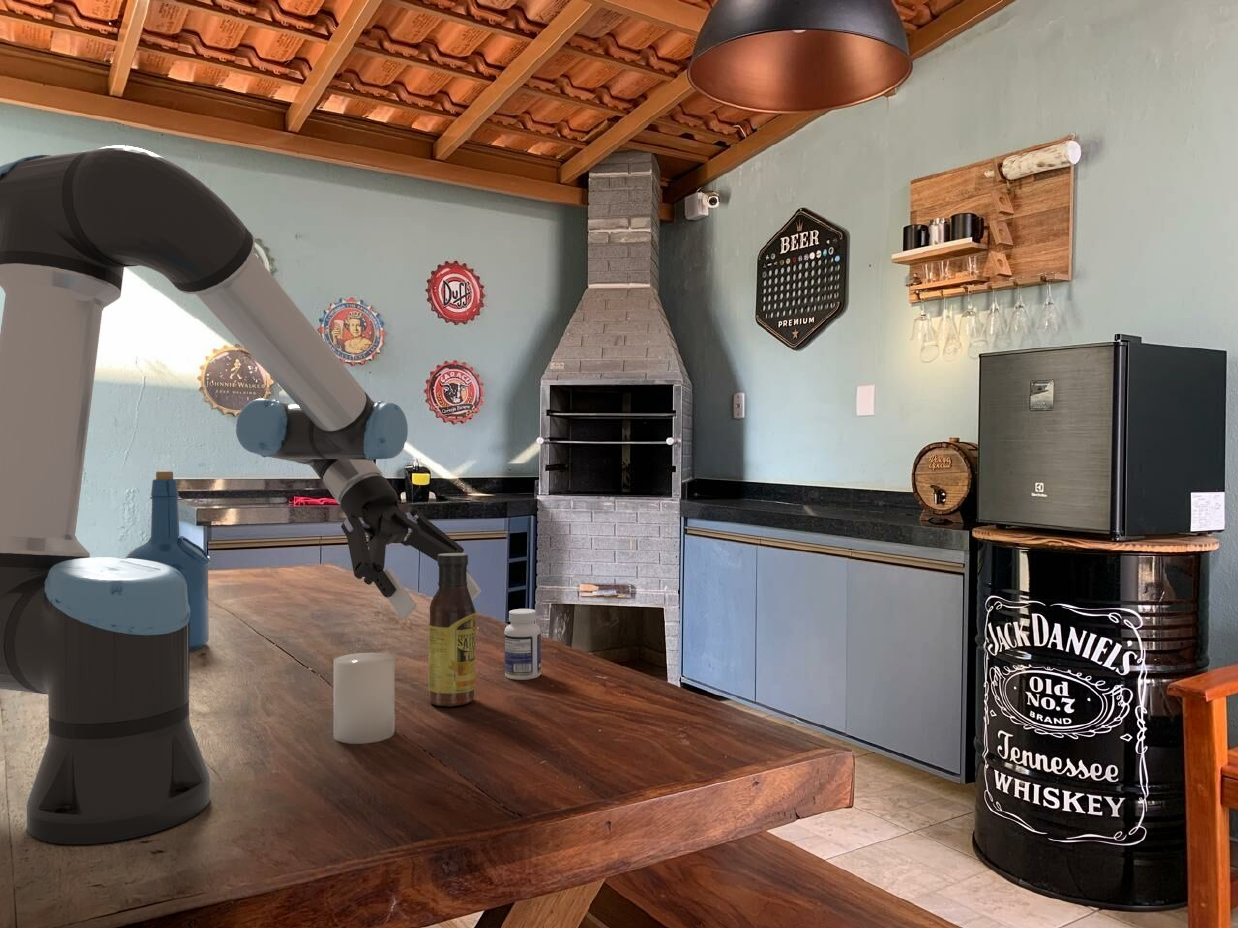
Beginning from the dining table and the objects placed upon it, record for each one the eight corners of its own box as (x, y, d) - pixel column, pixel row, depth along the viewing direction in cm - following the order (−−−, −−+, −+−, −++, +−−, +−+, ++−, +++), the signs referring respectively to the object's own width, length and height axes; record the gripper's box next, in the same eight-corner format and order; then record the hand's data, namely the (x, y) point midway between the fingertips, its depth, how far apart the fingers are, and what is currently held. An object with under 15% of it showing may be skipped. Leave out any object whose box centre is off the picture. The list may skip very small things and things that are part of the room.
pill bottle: (522, 669, 143) (522, 606, 143) (548, 675, 139) (548, 610, 139) (496, 676, 139) (496, 611, 138) (522, 682, 135) (522, 615, 135)
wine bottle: (112, 660, 149) (110, 472, 148) (132, 643, 162) (130, 470, 161) (205, 654, 153) (203, 471, 152) (217, 638, 165) (215, 469, 165)
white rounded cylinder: (402, 737, 110) (402, 661, 110) (342, 747, 106) (341, 668, 106) (384, 722, 116) (384, 650, 116) (327, 730, 112) (327, 656, 112)
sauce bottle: (465, 709, 121) (465, 557, 121) (420, 707, 123) (420, 556, 122) (482, 696, 128) (482, 551, 127) (439, 693, 129) (439, 550, 128)
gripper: (406, 503, 146) (483, 607, 139) (279, 514, 124) (362, 638, 117) (433, 470, 143) (513, 575, 137) (307, 475, 122) (394, 600, 115)
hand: (443, 604), depth 127 cm, fingers open, 13 cm apart
